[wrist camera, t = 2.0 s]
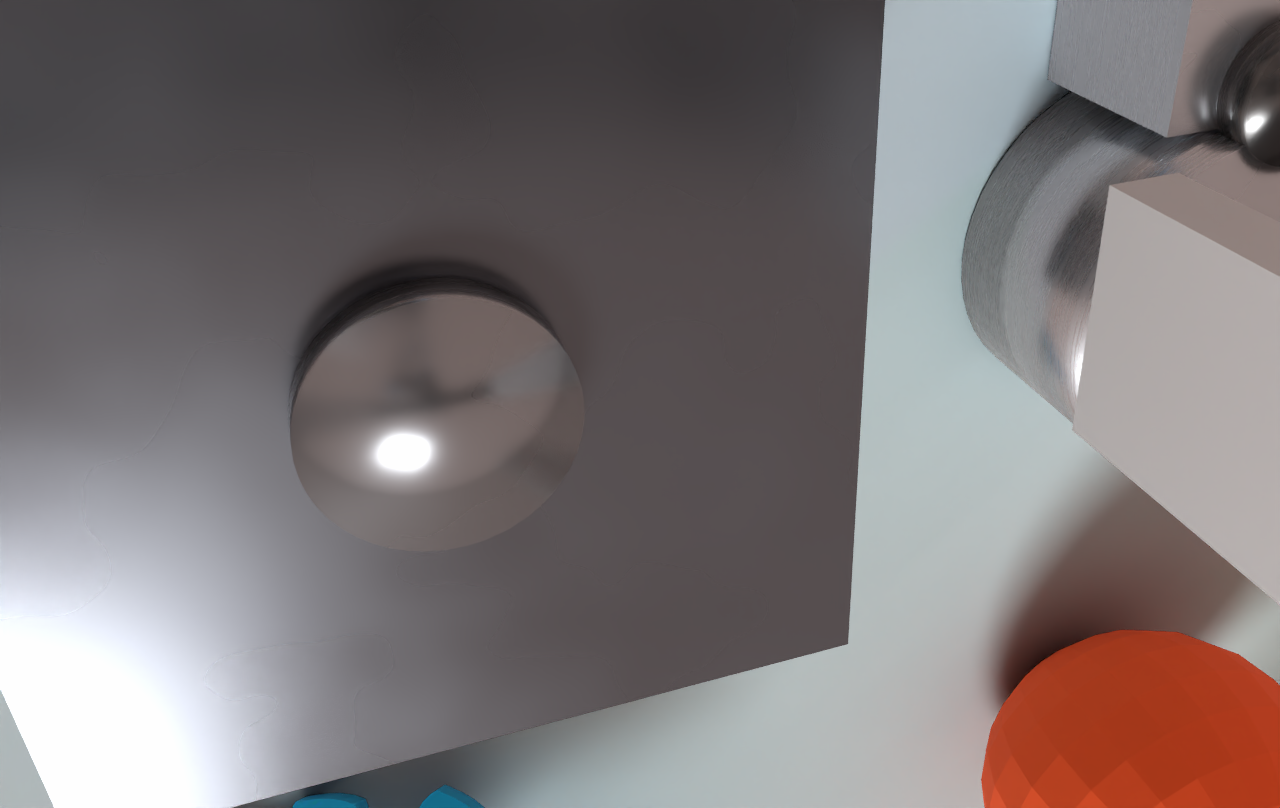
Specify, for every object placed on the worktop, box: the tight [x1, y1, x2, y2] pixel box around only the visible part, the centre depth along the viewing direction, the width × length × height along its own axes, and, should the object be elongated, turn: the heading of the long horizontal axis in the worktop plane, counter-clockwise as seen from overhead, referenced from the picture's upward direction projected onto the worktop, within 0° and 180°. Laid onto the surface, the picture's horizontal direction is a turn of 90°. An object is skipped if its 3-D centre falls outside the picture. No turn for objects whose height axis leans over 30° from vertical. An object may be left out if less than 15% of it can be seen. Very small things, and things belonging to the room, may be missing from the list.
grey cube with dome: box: [0, 0, 885, 808], centre depth 13 cm, size 8×8×8 cm
